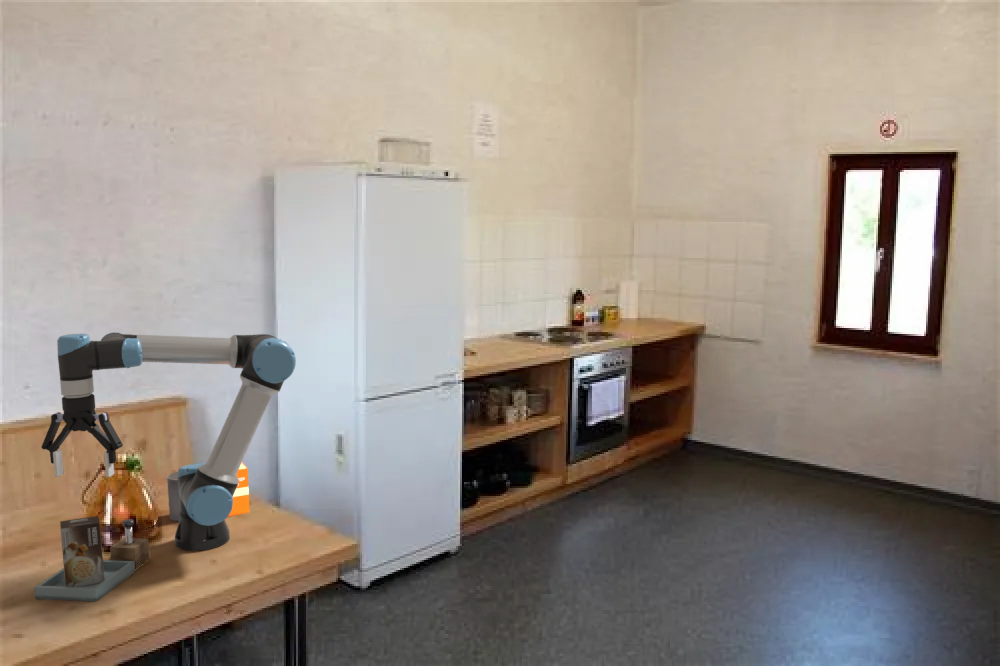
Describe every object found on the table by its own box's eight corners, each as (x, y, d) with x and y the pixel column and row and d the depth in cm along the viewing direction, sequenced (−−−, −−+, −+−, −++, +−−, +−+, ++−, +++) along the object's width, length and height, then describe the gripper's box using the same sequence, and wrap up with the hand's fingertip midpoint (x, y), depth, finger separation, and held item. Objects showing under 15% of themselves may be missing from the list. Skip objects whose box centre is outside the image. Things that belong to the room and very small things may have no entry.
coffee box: (103, 573, 223) (99, 514, 221) (104, 582, 218) (100, 522, 216) (64, 580, 219) (60, 520, 217) (64, 590, 214) (60, 528, 212)
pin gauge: (138, 562, 233) (135, 519, 232) (132, 566, 230) (130, 522, 229) (128, 561, 233) (126, 518, 232) (123, 565, 231) (120, 522, 229)
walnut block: (149, 559, 235) (148, 538, 234) (136, 569, 228) (134, 548, 227) (125, 558, 236) (124, 537, 235) (111, 568, 229) (110, 547, 228)
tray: (134, 572, 227) (134, 561, 226) (96, 601, 209) (95, 589, 208) (78, 569, 228) (77, 558, 228) (35, 598, 210) (34, 587, 210)
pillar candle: (198, 509, 276) (195, 464, 274) (205, 517, 268) (202, 471, 266) (166, 515, 271) (163, 469, 269) (173, 524, 263) (170, 477, 261)
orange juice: (242, 504, 281) (240, 445, 279) (250, 512, 274) (247, 451, 271) (218, 508, 277) (215, 449, 274) (225, 516, 270) (222, 455, 267)
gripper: (132, 391, 220) (138, 471, 222) (39, 392, 221) (46, 471, 224) (117, 397, 212) (124, 480, 215) (21, 398, 214) (29, 479, 217)
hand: (84, 475), depth 220 cm, fingers open, 13 cm apart
